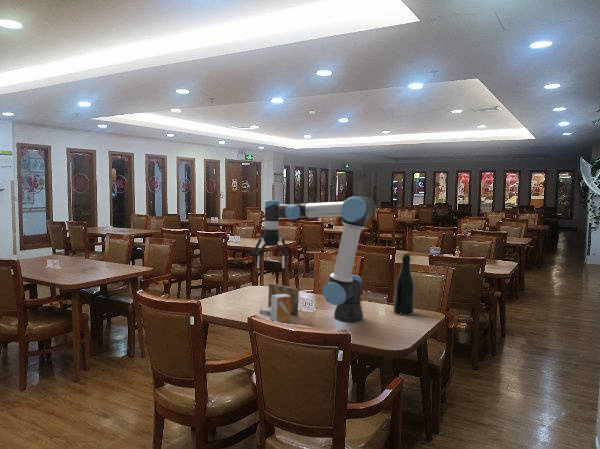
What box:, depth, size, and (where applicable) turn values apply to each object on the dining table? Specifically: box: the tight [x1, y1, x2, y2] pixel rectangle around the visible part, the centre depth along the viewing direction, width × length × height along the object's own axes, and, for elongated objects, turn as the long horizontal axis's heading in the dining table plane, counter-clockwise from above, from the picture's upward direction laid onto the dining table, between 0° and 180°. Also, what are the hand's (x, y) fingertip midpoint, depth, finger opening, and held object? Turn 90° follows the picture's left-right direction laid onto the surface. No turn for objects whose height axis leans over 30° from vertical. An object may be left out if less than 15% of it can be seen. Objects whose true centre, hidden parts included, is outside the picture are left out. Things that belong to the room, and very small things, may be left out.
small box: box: [270, 294, 291, 323], centre depth 238 cm, size 8×6×13 cm
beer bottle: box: [393, 253, 415, 315], centre depth 260 cm, size 10×10×33 cm
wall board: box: [259, 282, 300, 317], centre depth 251 cm, size 20×11×14 cm, turn 51°
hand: (270, 268), depth 254 cm, fingers open, 13 cm apart
